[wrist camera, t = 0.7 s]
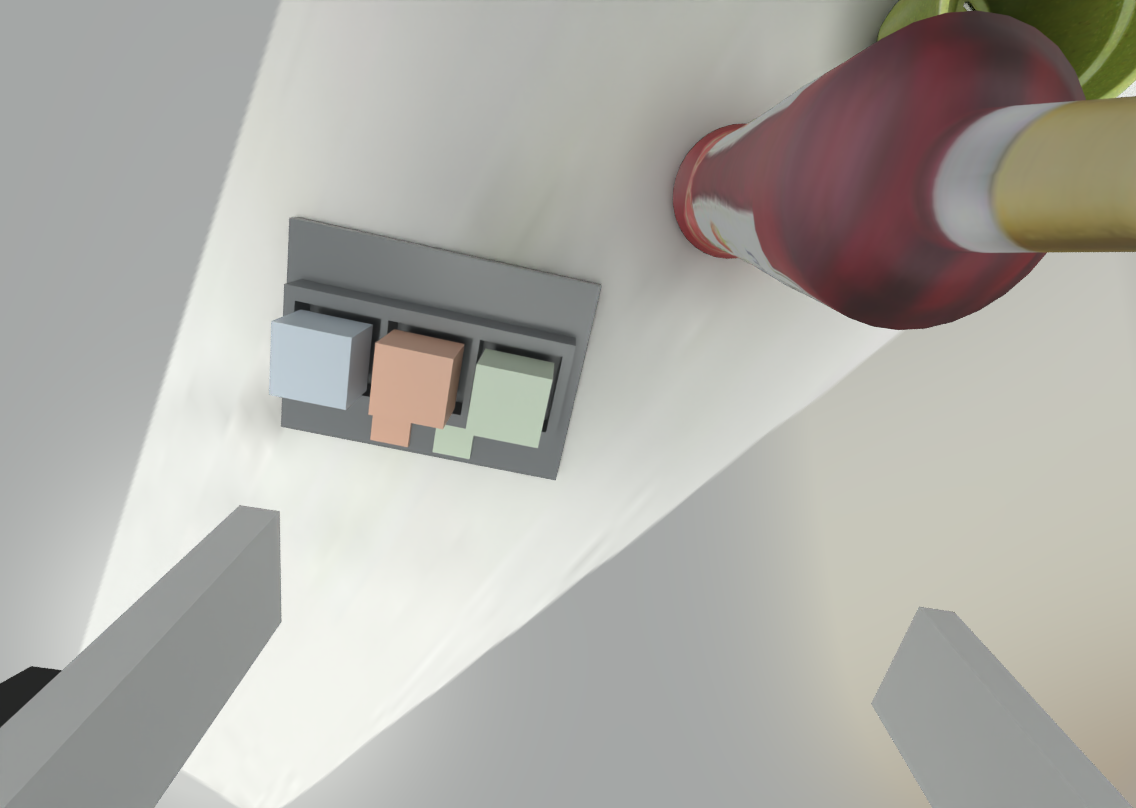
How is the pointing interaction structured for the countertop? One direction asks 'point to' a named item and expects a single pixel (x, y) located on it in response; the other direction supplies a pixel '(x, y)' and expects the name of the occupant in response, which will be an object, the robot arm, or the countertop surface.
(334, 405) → the key bluegrey
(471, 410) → the key sage
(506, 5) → the countertop surface
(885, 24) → the plant pot
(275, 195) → the countertop surface
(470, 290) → the keypad
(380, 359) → the key terracotta
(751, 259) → the liquor
